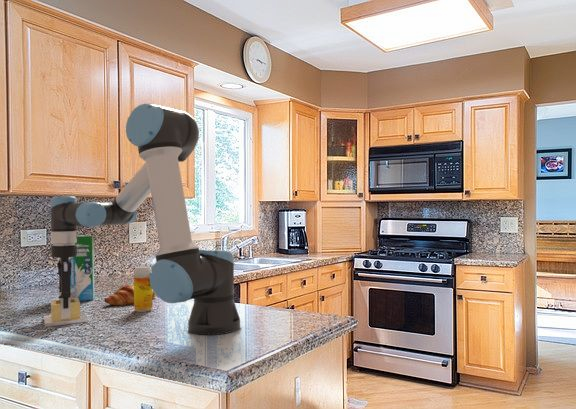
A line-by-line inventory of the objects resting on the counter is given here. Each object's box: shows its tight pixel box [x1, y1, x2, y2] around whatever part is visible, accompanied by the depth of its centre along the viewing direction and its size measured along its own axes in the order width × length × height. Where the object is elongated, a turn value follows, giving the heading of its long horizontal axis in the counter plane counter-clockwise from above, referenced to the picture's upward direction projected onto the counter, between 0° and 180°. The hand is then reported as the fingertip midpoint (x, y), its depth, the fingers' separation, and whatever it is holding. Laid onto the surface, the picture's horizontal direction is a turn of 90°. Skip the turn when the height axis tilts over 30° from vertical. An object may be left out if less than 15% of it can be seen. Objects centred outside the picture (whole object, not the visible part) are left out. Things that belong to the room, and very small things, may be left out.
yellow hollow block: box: [50, 298, 81, 321], centre depth 153 cm, size 8×8×5 cm
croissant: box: [104, 284, 157, 306], centre depth 181 cm, size 21×10×8 cm, turn 139°
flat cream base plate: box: [43, 311, 88, 328], centre depth 153 cm, size 12×12×6 cm
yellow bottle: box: [133, 265, 154, 313], centre depth 166 cm, size 6×6×15 cm
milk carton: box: [69, 234, 96, 302], centre depth 188 cm, size 9×9×25 cm
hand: (64, 315), depth 153 cm, fingers closed on yellow hollow block, 8 cm apart
